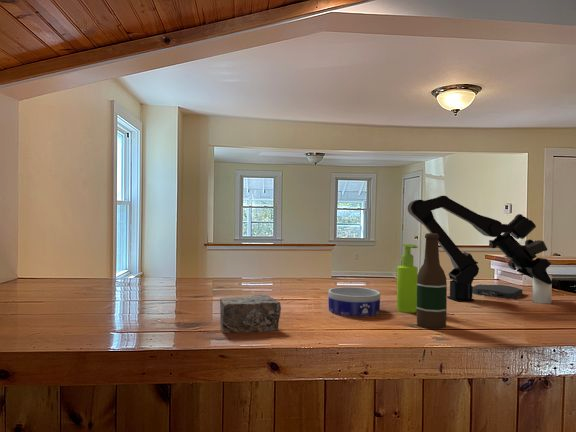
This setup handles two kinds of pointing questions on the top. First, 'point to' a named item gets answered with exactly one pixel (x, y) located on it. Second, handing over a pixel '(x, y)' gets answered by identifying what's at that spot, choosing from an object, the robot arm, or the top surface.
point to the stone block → (249, 314)
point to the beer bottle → (431, 288)
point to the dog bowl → (354, 301)
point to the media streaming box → (498, 291)
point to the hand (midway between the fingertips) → (546, 282)
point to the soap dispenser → (407, 282)
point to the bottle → (542, 291)
